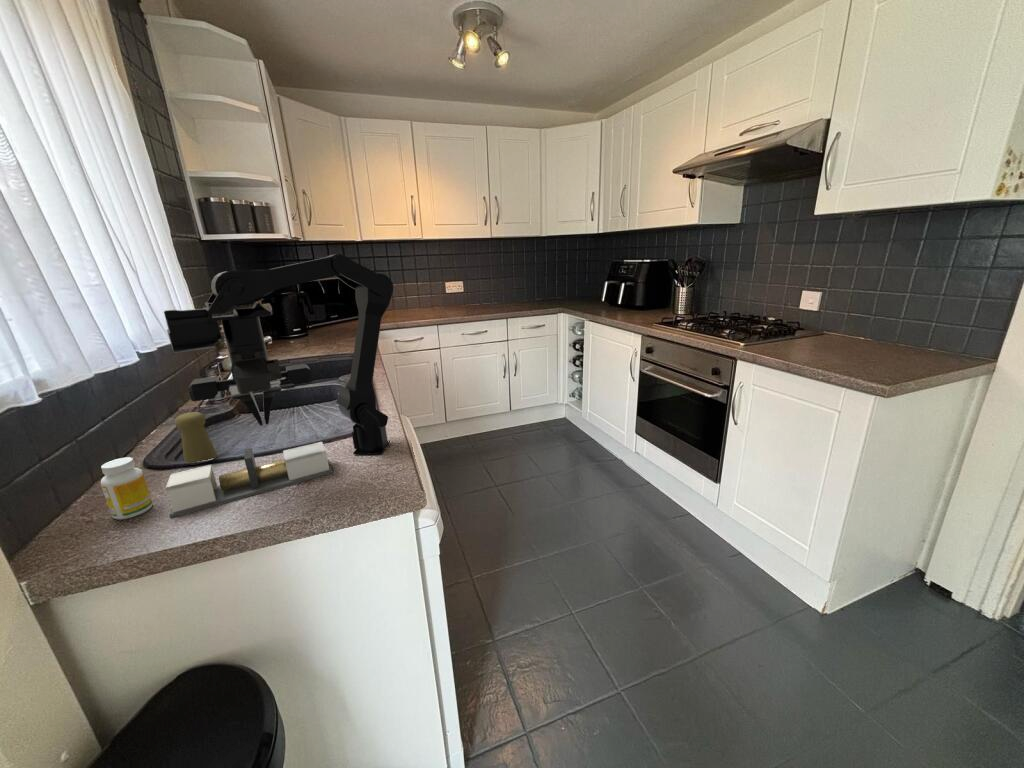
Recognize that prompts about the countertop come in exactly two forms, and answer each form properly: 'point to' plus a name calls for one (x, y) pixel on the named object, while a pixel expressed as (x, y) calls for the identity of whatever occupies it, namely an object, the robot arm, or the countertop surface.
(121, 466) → the supplement bottle
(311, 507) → the countertop surface
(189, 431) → the cork
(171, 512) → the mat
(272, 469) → the bolt
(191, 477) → the socket
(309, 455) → the sleeve
